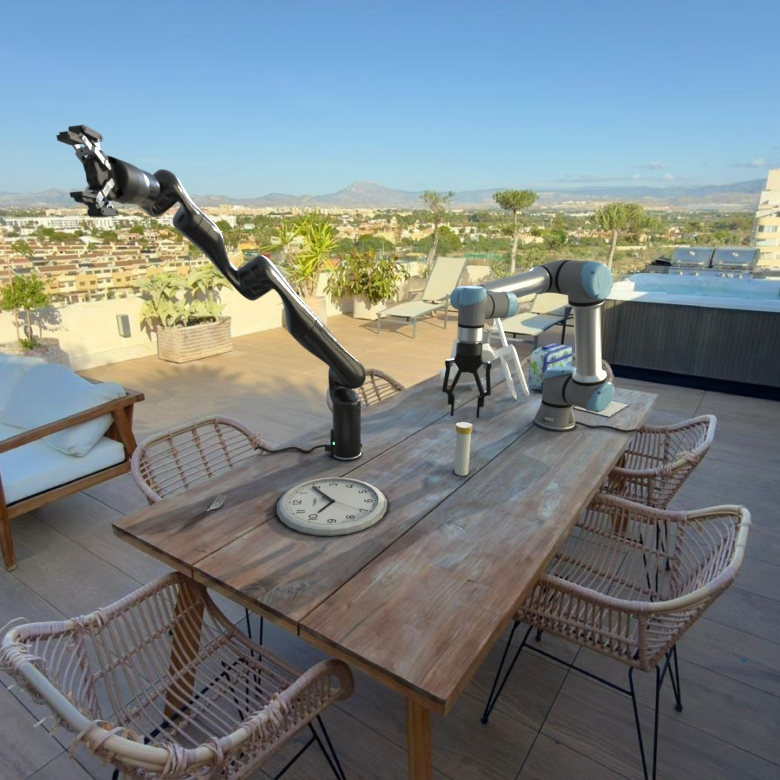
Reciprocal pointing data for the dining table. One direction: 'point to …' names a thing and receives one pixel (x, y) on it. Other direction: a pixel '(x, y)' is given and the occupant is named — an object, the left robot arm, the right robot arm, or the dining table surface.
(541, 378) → the lunch box
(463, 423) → the lid
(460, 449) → the white cylinder
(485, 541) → the dining table surface
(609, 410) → the invitation card
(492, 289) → the right robot arm
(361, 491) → the wall clock
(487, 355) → the white plastic object
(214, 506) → the fork
